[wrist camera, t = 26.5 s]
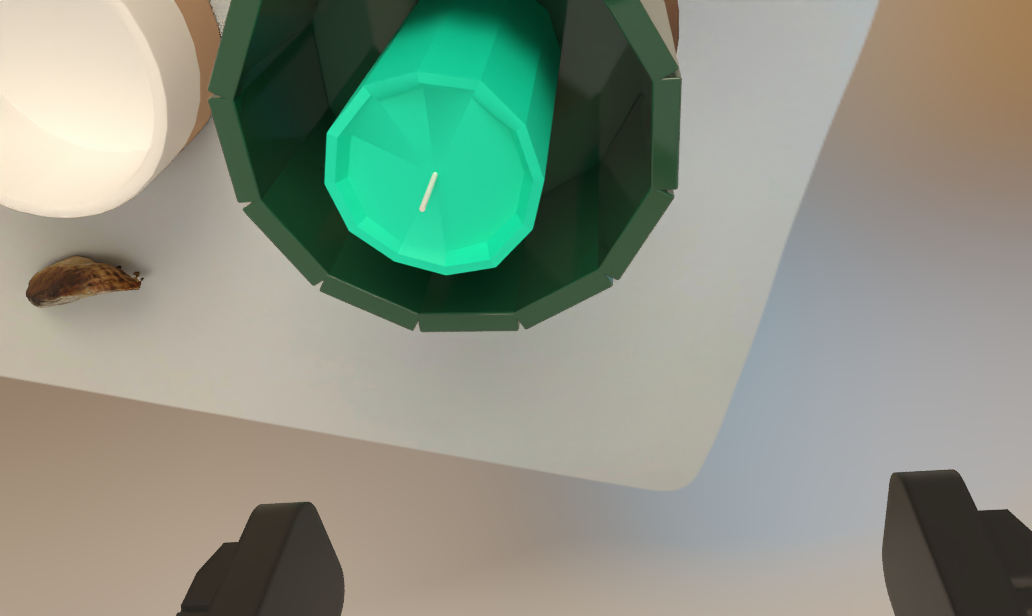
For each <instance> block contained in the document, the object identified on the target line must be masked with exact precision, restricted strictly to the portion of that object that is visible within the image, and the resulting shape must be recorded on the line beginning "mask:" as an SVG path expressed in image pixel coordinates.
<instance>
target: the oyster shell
mask: <svg viewBox="0 0 1032 616" xmlns="http://www.w3.org/2000/svg"><path fill="white" fill-rule="evenodd" d="M133 275H136V277H134V278H132V277H131V276H130V275H128V274H127V273H126V272H124V271H123V270H122V269H121V266H117V267H114V266H111V265H109V264H105V263H95V262H94V261H93V260H91V259H89V258H85V257H80V256H74V257H71V258H68V259H65V260H62V261H59V262H57V263H54V264H52V265H50V266H48V267H47V268H45V269H43V270H42V271H40V272H37V273H36V274H35V275H34V276H33V277H32V279H31V280H30V281H29V287H28V289H27V291H26V297H27V298H28V300H29V301H30V302H31V303H32V304H33V305H35V306H37V307H41V308H42V307H49V306H55V305H62V304H67V303H70V302H74V301H77V300H80V299H82V298H85V297H88V296H93V295H98V294H102V293H109V292H116V291H127V290H139V288H140V285H141V281H143V279H144V278H141V279H140V280H141V281H139V280H138V279H137V277H139V276H140V272H134V273H133Z"/></svg>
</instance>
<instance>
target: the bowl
mask: <svg viewBox="0 0 1032 616" xmlns="http://www.w3.org/2000/svg"><path fill="white" fill-rule="evenodd" d="M219 44H220V35H219V30H218V25H217V22H216V19H215V17H214V14H213V11H212V9H211V6H210V3H209V1H208V0H0V204H1V205H4V206H6V207H9V208H11V209H14V210H17V211H21V212H26V213H30V214H35V215H39V216H44V217H61V218H75V217H82V216H89V215H96V214H100V213H103V212H105V211H108V210H111V209H113V208H116V207H119V206H121V205H123V204H124V203H126V202H127V201H129V200H130V199H131V198H133V197H134V196H136V195H137V194H139V193H140V192H141V191H142V190H143V189H144V188H145V187H146V186H147V185H148V184H149V183H150V182H151V181H152V180H153V179H154V178H155V177H156V176H157V175H158V174H159V173H160V172H161V171H162V170H163V169H164V168H165V167H166V166H167V165H168V164H169V163H170V162H171V161H172V160H173V159H174V158H175V156H176V155H177V154H178V153H179V152H180V151H181V150H182V149H183V148H184V147H185V146H186V145H187V144H188V143H189V142H190V141H191V140H192V139H193V138H194V137H195V136H196V135H197V134H198V133H199V131H200V130H201V129H202V128H203V127H204V126H205V124H206V123H207V122H208V120H209V118H210V116H211V114H212V113H211V109H210V106H209V103H208V99H209V98H210V97H211V96H212V95H213V93H211V92H209V91H208V85H209V81H210V77H211V74H212V70H213V66H214V62H215V59H216V55H217V51H218V47H219Z"/></svg>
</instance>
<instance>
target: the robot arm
mask: <svg viewBox="0 0 1032 616" xmlns="http://www.w3.org/2000/svg"><path fill="white" fill-rule="evenodd" d="M882 561H883V571H884V577H885V583H886V587H887V591H888V595H889V598H890V601H891V605H892V608H893V610H894V614H895V616H1032V531H1031V530H1030V529H1029V528H1028V527H1026V526H1025V525H1024V524H1023V523H1022V522H1021V521H1020V520H1019V519H1017V518H1016V517H1015V516H1014V515H1013V514H1012V513H1011V512H1010V511H1009V510H1008V509H1006V510H983V511H978V510H977V508H976V506H975V503H974V502H973V499H972V497H971V495H970V493H969V491H968V489H967V487H966V485H965V483H964V481H963V479H962V477H961V476H960V474H959V473H958V472H957V471H955V470H936V471H916V472H897V473H893V474H892V476H891V478H890V483H889V492H888V501H887V510H886V519H885V529H884V537H883V546H882ZM343 603H344V577H343V571H342V568H341V565H340V563H339V560H338V558H337V556H336V553H335V551H334V549H333V547H332V544H331V542H330V540H329V537H328V535H327V533H326V530H325V528H324V526H323V523H322V521H321V519H320V516H319V514H318V512H317V510H316V508H315V506H314V505H313V504H312V503H310V502H295V503H275V504H260V505H258V506H257V507H256V508H255V509H254V510H253V512H252V513H251V515H250V517H249V520H248V522H247V524H246V527H245V528H244V531H243V533H242V535H241V537H240V540H239V542H231V543H223V545H222V546H221V547H220V548H219V549H218V550H217V551H216V552H215V554H213V556H212V557H211V558H210V559H209V560H208V561H207V562H206V563H205V564H204V565H203V567H202V568H201V569H200V570H199V571H198V572H197V574H196V576H195V578H194V580H193V582H192V584H191V586H190V588H189V590H188V592H187V594H186V596H185V599H184V600H183V603H182V605H181V612H180V613H177V615H176V616H341V612H342V608H343Z"/></svg>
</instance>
